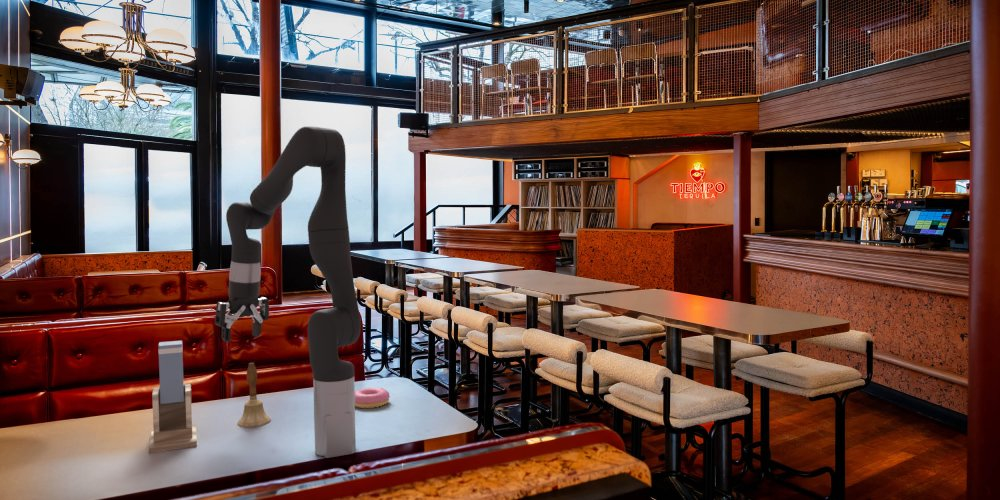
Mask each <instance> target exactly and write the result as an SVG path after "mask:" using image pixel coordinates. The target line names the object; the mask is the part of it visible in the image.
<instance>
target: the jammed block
mask: <svg viewBox="0 0 1000 500" xmlns="http://www.w3.org/2000/svg"><path fill="white" fill-rule="evenodd" d="M157 350H158V368H159V370H158V371H159V387H160V404H165V403H173V402H182V401H184V384H185V383H184V361H183V358H184V357H183V353H184V352H183V340H173V341H172V340H171V341H159V343H158V349H157Z"/></svg>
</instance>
